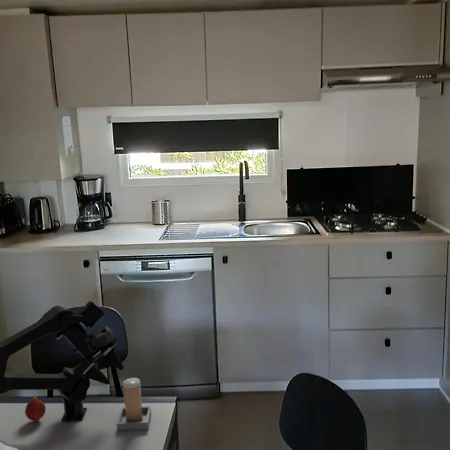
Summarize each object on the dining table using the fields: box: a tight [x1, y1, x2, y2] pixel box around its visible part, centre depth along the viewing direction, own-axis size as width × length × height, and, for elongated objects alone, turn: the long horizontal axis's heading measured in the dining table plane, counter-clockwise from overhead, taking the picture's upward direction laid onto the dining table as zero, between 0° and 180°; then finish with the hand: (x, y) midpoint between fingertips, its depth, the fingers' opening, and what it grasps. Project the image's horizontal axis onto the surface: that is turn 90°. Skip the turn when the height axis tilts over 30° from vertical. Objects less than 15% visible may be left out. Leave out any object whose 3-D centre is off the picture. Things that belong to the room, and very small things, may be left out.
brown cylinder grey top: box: [122, 377, 143, 422], centre depth 152 cm, size 5×5×12 cm
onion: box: [24, 396, 47, 422], centre depth 155 cm, size 6×6×8 cm
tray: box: [116, 405, 152, 433], centre depth 153 cm, size 9×9×2 cm
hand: (116, 376), depth 154 cm, fingers open, 9 cm apart
